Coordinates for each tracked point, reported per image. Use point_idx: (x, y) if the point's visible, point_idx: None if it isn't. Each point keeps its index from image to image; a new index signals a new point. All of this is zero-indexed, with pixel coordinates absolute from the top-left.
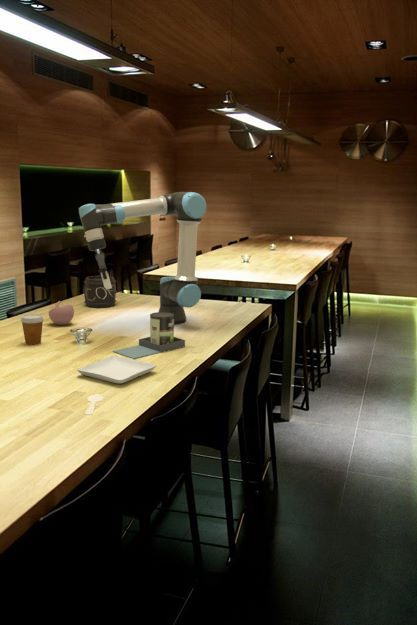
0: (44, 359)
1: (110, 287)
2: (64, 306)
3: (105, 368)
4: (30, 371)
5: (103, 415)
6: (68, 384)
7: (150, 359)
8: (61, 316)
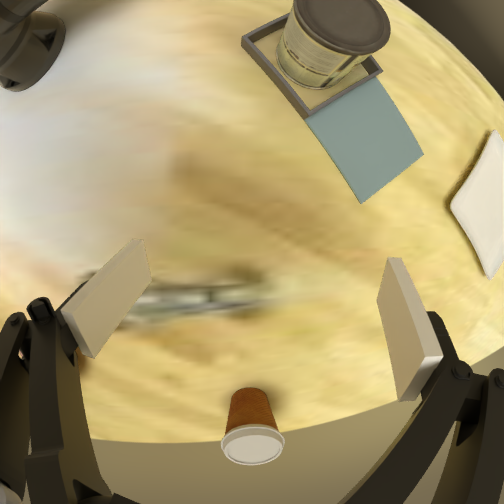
0: (383, 354)
1: (141, 252)
2: None
3: (474, 226)
4: None
5: None
6: (500, 283)
7: (424, 115)
8: None
